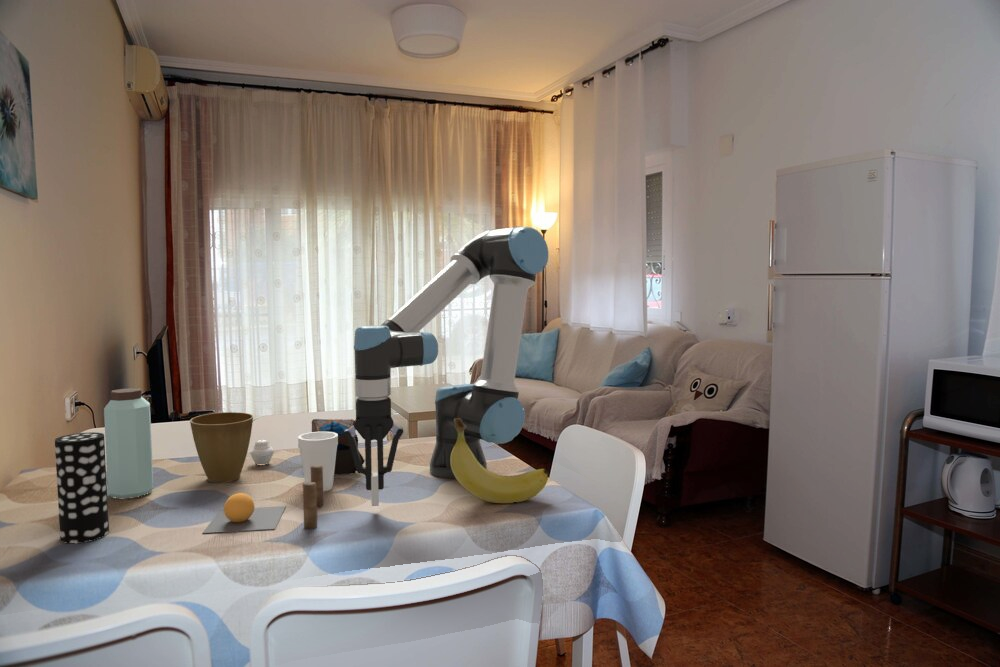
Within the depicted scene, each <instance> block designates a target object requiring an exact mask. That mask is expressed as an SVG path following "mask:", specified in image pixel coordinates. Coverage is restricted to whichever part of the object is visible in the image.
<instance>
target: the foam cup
mask: <svg viewBox="0 0 1000 667" xmlns="http://www.w3.org/2000/svg"><path fill="white" fill-rule="evenodd" d="M297 438H298V440H297V441H298V444H297V445H298V448H299V453H300V460H301V466H302V467H301V468H302V472H303V473H302V474H303V478H304V479H303V480H304V483H307V482H311V466H314V465H322V466H323V492H327V491H329V490H332V489H334V488H333V485H334V480H335V479H334V478H335V475H334V470H335V461H336V451H337V445H338V434H337V433H334V432H312V431H310V432H307V433H305V432H304V433H302V434H300V435H298V437H297Z"/></svg>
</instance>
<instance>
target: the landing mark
mask: <svg viewBox="0 0 1000 667" xmlns="http://www.w3.org/2000/svg"><path fill="white" fill-rule="evenodd" d="M286 507H287V506H286V505H282V506H279V505H277V506H262V507H261V506H259V507H254V512H253V514H252V515H251V517H250V518H249V519H247V520H246V521H244V522H240V523H236V522H232V521H230V520H229V519H228V518H227V517H226V516H225V513H224V508H223V509H219V511H218V512H217V513H216V514H215V516H214V517H213V518H212V520H211V521H210V523H209V524H208V525H207V526H206V527H205V529H204V530H203V531H202V534H203V533H210V534H218V533H217V532H226V533H238V532H239V531H241V533H242V531H243V532H255V531H257V532H258V531H274V530H276V528H277V526H278V524H279V522H280V520H281V518H282V517H283V516H282V515H283V514H284V512H285V510H286ZM236 531H238V532H236ZM215 532H216V533H215ZM239 533H240V532H239ZM203 535H204V534H203Z"/></svg>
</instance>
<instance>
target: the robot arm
mask: <svg viewBox="0 0 1000 667" xmlns="http://www.w3.org/2000/svg"><path fill="white" fill-rule="evenodd" d="M548 262H549V248H548V244H547V241H546V240H545V239H544V236H543V235H542V233H541V232H540V231H538V230H537V229H535V228H533V227H530V226H515V227H506V228H498V229H497V228H494V229H488V230H485V231H483V232H481V233H479V234H478V235H476V236H474V237H473V238H472V239H471V240H469V241H468V242H466V243H465V244H464V245H463V246H462V247H461V248H459V249H458V250H456V252H455V253H453V255H451V257H450V262H449V263H448V264H447V265H446V266H445V267H444V268H443V269H441V271H439V272H438V273H437V274H436V275H435V276H434V277H432V279H430V281H429V282H427V283H426V284H425V285H424V286H423V287H421V289H419V290H418V292H416V293H415V294H414V295H413V296H412V297H411V298H409V299H408V300H407V301H406V302H405V303H404V304H402V305H401V307H400V308H398V309H397V310H396V311H395V312H394V313H393V314H391V316H390V317H388V318H387V319H386V320H385V321H384V322H383V323H381V325H362V326H358V327H357V328H356V329H355V331H354V337H353V338H354V339H353V341H354V343H353V349H354V373H355V376H354V386H355V387H354V390H355V394H354V395H355V396H356V397H357V398H356V399H355V419H354V425H353V426H352V427H350V428H349V429H345V431H344V436H345V437H346V439H347V440H348V441H349V444H350V448H351V451H352V455H353V459H354V462H355V466H356V469H357V471H356V473H357V474H359V475H364V476H365V489H366V491H371V493H370V495H371V507H377V506H378V507H379V504H380V494H379V493H380V491H381V490H383V489H384V487H385V486H384V485H385V481H384V480H385V477H384V476H385V475H386V474H388V473H391V472H392V470H393V466H394V462H395V456H396V454H397V448H398V444H399V439H400V438H402V435H403V433H404V428H403V427H402V426H399V425H397V424H395V423H394V419H393V418H392V399H391V397H389V396H391V394H392V390H391V389H392V387H391V385H392V384H391V383H392V382H391V380H392V379H391V369H395V368H404V367H406V368H407V367H416V366H420V367H422V366H425V365H430V364H433V363H434V362H435V361H436V360H437V359H438V356H439V343H438V340H437V337H436V336H435V335H434V334H433V333H431V332H429V331H424V332H423V331H421V330H423V329H424V328H425V326H427V324H429V323H430V322H431V321H432V320H433V319H435V317H437V315H439V314H440V313H441V312H442V311H443V310H444V309H445V308H446V307H447V306H448V305H450V303H452V302H453V301H454V300H455V299H456V298H457V297H458V296H460V294H461V293H462V292H463V291H464V290H465V289H466V288H467V287H469V286H470V285H477V283H479V282H480V281H481V280H482V279H483V278H486V277H487V276H489V279H490V280H491V282H492V283H493V289H492V290H493V292H492V298H491V303H490V304H491V306H490V311H489V318H488V325H487V331H486V339H485V345H484V351H483V358H482V364H481V371H480V378H479V379H478V380H477V381H475V382H474V383H464V384H453V385H447V386H441V387H438V388H437V389H436V391H435V398H434V399H435V400H434V404H435V445H434V448H433V453H432V456H431V458H430V461H429V472H430V474H431V475H433V476H435V477H438V478H444V479H456V477H455V476H454V474H453V472H452V469H451V464H450V457H451V452H452V450H453V448H454V446H455V444H456V442H457V438H458V433H457V430H456V429H455V424H454V419H455V418H461V419H462V422H463V424H465V425H466V428H465V429H464V438H465V441H466V444H467V445H468V447H469V448H470V450H471V452H472V453H473V455H474V456H475V458H476V459H477V461H478V462H479V463H480V464H481V465H482V466H483V467H484V468H485V469H486V470H488V468H487V467H488V466H487V459H486V457H485V454H484V453H485V452H484V450H483V447H482V445H481V441H485V442H486V443H494V444H500V445H501V444H506V443H509V442H511V441H513V440H514V438H515V437H517V436H518V435H519V434H520V432H521V431H522V429H523V426H524V424H525V419H526V411H525V408H524V407H523V406H524V404H523V403H522V402H521V401H520V400H519V392H520V390H519V389H518V387H517V386H516V384H515V379H516V373H517V367H518V358H519V351H520V345H521V339H522V331H523V326H524V317H525V311H526V303H527V298H528V291H529V289H530V288H531V287H533V286H534V285H536V279H537V275H538V274H540V273H541V272H542V271H544V269H545V268H546V267H547V265H548ZM390 431H391V435H392V436H393V437H392V440H391V444H390V449H389V454H388V458H387V463H386V465H384V439H385V438H386V437H387V435H388V434H389V433H390ZM357 432H358V434H359V435H360V437H361V438H362V439H363V440H364V446H365V447H364V451H365V452H364V453H365V454H364V456H365V458H364V463H365V464H364V465H365V466H364V465H363V464H362V461H361V458H360V454H361V453H360V454H359V452H360V451H359V446H358V447H357V443H356V440H355V435H357V434H356V433H357ZM374 440H375V441H376V448H377V449H376V450H377V451H376V454H377V472H373V471H372V470H373V468H372V441H374Z"/></svg>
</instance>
